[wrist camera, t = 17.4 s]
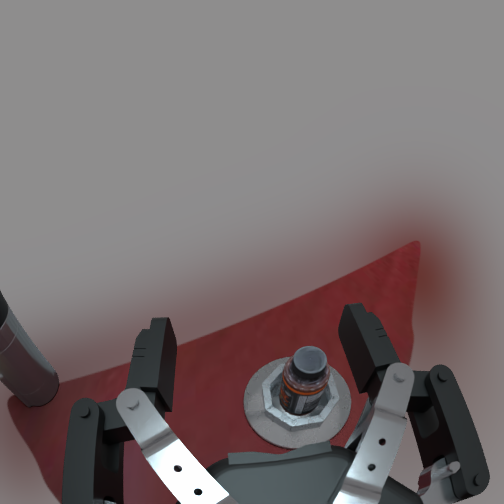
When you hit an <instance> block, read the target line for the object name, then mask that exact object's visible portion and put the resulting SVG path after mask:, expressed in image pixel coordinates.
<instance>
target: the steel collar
mask: <svg viewBox="0 0 504 504" xmlns="http://www.w3.org/2000/svg"><path fill="white" fill-rule="evenodd" d="M289 358H290V357H286V358H281V359H278V360H275V361H272V362H270V363H268V364H267V365H265V366H263V367H262V368H261V369H259V370H258V371H257V372H256V373H255V374H254V375H253V377H252V378H251V380H250V381H249V383H248V385H247V387H246V390H245V394H244V410H245V415H246V418H247V420H248V422H249V424H250V426H251V427H252V429H253V430H254V431H255V432H256V433H257V434H258V435H259V436H260V437H261V438H262V439H264V440H265V441H267V442H269V443H270V444H272V445H275V446H277V447H281V448H285V449H291V450H295V449H297V448H300V447H302V446H305V445H309V444H314V443H320V442H325V441H329V440H330V439H331V438H333V437H334V436H335V435H336V434H337V433H338V432H339V431H340V429H341V428H342V427H343V426H344V424H345V422H346V421H347V418H348V416H349V413H350V408H351V396H350V392H349V389H348V386H347V384H346V382H345V381H344V379H343V378H342V376H341V375H340V374H339V373H338V372H337V371H336V370H335V369H333V368H332V367H331V366H329V368H330V377H329V380H328V383H327V385H326V388H325V390H324V392H323V394H322V397H321V399H320V401H319V403H318V405H317V407H316V408H315V409H314V410H313V411H312V412H311V413H309V414H306V415H302V416H297V415H292V414H289V413H288V412H286V411H285V410H284V409H283V408H282V406H281V405H280V401H279V393H280V387H281V380H282V374H283V369H284V366H285V364H286V362H287V360H288V359H289Z"/></svg>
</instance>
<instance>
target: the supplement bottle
mask: <svg viewBox="0 0 504 504" xmlns="http://www.w3.org/2000/svg"><path fill="white" fill-rule="evenodd" d="M329 377H330V368H329V365H328V363H327V358H326V355H325V353H324V352H323V351H322V350H320V349H319V348H317V347H313V346H306V347H302V348H300V349H299V350H297V351H296V353H295V354H294V355H293V356H292V357H290V358H289V359H288V360H287V362H286V364H285V366H284V369H283V374H282V380H281V387H280V393H279V401H280V405H281V406H282V408H283V409H284V410H285V411H286V412H288V413H289V414H292V415H297V416H302V415H306V414H309V413H311V412H312V411H313V410H314V409H315V408H316V407H317V405H318V403H319V401H320V399H321V397H322V394H323V392H324V390H325V388H326V385H327V383H328V380H329Z"/></svg>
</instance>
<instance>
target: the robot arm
mask: <svg viewBox="0 0 504 504" xmlns="http://www.w3.org/2000/svg"><path fill="white" fill-rule="evenodd" d="M338 333H339V338H340V341H341V343H342V346H343V349H344V351H345V354H346V357H347V360H348V363H349V365H350V368H351V371H352V374H353V377H354V379H355V382H356V385H357V388H358V391H359V394H361V393H365V392H367V393H368V396H369V397H368V399H367V401H366V404H365V406H364V409H363V411H362V414H361V416H360V418H359V421H358V423H357V425H356V428H355V430H354V432H353V433H352V435H351V437H350V438H349V440H348V442H347V443H346V445H345V447H340V446H334V445H330V441H325V442H320V443H314V444H309V445H305V446H302V447H300V448H297V449H295V450H292V451H290V452H287V453H284V454H281V455H277V454H268V453H260V452H242V453H228V458H225V459H222V460H220V461H217V462H216V463H214V464H212V465H211V466H209V467H208V468H207V469H206V470H205V469H204V468H203V467H202V466H201V465H200V464H199V462H198V461H197V460H196V459H195V458H194V457H193V456H192V454H191V453H190V452H189V451H188V450H187V449H186V447H185V446H184V445H183V444H182V443H181V441H180V440H179V439H178V438H177V436H176V435H175V434H174V433H173V431H172V430H171V429H170V427H169V426H168V425H167V424H166V422H165V421H164V419H165V412H172V404H173V390H174V377H175V365H176V355H177V343H176V337H175V334H174V331H173V328H172V325H171V322H170V319H169V318H152V320H151V325H150V329H142V331H141V332H140V334H139V335H138V336H137V338H136V342H135V346H134V350H133V355H132V357H133V358H132V360H131V364H130V369H129V375H128V380H127V385H126V388H125V390H124V391H123V392H121V393H120V395H119V396H118V397H117V398H115V399H113V400H109V401H104V402H100V403H96V402H95V401H94V400H92V399H90V398H82V399H79V400H78V401H76V402H75V403H74V405H73V407H72V409H71V415H70V421H69V427H68V434H67V441H66V449H65V459H64V470H63V485H62V504H124V501H123V456H124V442H125V441H130V440H135V439H136V441H137V442H138V444H139V445H140V447H141V451H142V453H143V455H144V456H145V458H146V459H147V461H148V462H149V463H150V465H151V466H152V467H153V469H154V470H155V472H156V473H157V474H158V475H159V477H160V478H161V479H162V481H163V482H164V483H165V484H166V486H167V487H168V488H169V489H170V491H171V492H172V493H173V494H174V495H175V497H176V498H177V499H178V502H177V503H176V504H452V503H455V502H459V501H461V500H464V499H467V498H470V497H473V496H475V495H478V494H480V493H481V492H483V491H484V490H485V489H486V487H487V485H488V483H489V479H490V475H489V470H488V466H487V463H486V459H485V456H484V453H483V449H482V446H481V443H480V440H479V437H478V434H477V431H476V429H475V426H474V423H473V421H472V418H471V415H470V413H469V410H468V408H467V405H466V402H465V400H464V397H463V395H462V393H461V391H460V389H459V386H458V384H457V381H456V379H455V377H454V375H453V373H452V371H451V370H450V369H449V368H448V367H447V366H444V365H436V366H434V367H433V368H432V369H431V370H430V371H413V370H412V369H411V368H410V367H409V366H408V365H406V364H404V363H401V362H400V360H399V358H398V356H397V354H396V352H395V350H394V348H393V346H392V343H391V341H390V339H389V337H387V333H386V331H385V330H384V327H383V326H382V324H381V322H380V320H379V319H378V318H377V317H376V316H375V315H374V314H373V313H372V312H369V313H367V312H366V310H365V308H364V306H363V304H362V303H354V304H347V305H345V306H344V310H343V313H342V316H341V320H340V323H339V327H338ZM0 380H1V382H2V383H3V384H4V385H5V386H6V387H7V388H8V389H9V390H11V392H12V393H13V394H15V395H16V396H17V397H18V398H19V399H20V400H21V401H22V402H23V403H24V404H25V405H26V406H28V407H31V406H33V405H34V406H41V405H44V404H46V403H48V402H49V401H50V400H51V399H52V398H53V397H54V396H55V394H56V392H57V389H58V386H59V379H58V375H57V373H56V371H55V370H54V369H53V367H52V366H51V365H50V363H49V362H48V361H47V360H46V359H45V357H44V356H43V355H42V354H41V352H40V351H39V350H38V348H37V347H36V346H35V344H34V343H33V342H32V340H31V339H30V338H29V336H28V335H27V333H26V332H25V330H24V329H23V328H22V326H21V324H20V323H19V322H18V320H17V318H16V317H15V315H14V314H13V312H12V310H11V309H10V307H9V306H8V304H7V302H6V300H5V299H4V297H3V295H2V293H1V291H0ZM406 412H408V415H409V418H410V421H411V425H412V428H413V431H414V435H415V438H416V442H417V445H418V449H419V452H420V456H421V460H422V463H423V467H424V470H423V471H422V472H421V474H420V477H419V481H418V485H419V489H418V491H417V493H415V492H414V491H412V490H410V489H409V488H407V487H405V486H404V485H402V484H401V483H399V482H397V481H396V480H394V479H393V478H391V477H390V476H388V474H389V472H390V470H391V467H392V464H393V462H394V459H395V457H396V454H397V451H398V448H399V445H400V443H401V440H402V437H403V434H404V430H405V427H406V424H407V419H406V418H405V413H406Z"/></svg>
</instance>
